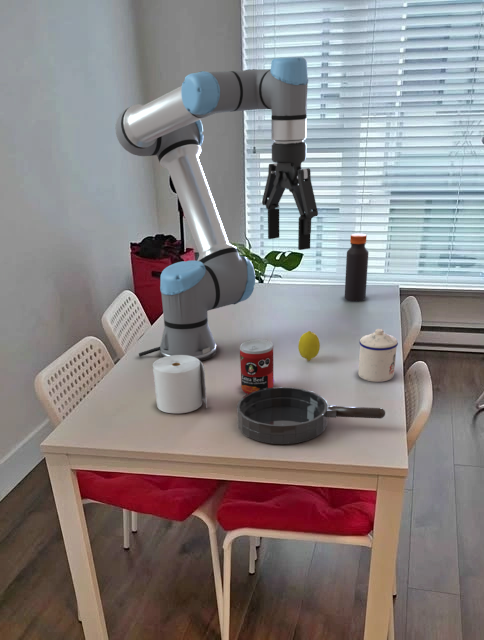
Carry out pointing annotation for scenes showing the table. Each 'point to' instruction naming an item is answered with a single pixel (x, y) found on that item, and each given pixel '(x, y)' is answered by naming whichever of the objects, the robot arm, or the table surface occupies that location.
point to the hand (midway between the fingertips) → (288, 243)
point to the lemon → (309, 345)
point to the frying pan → (282, 415)
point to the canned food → (256, 365)
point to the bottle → (356, 269)
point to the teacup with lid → (377, 356)
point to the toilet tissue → (179, 383)
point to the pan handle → (354, 412)
